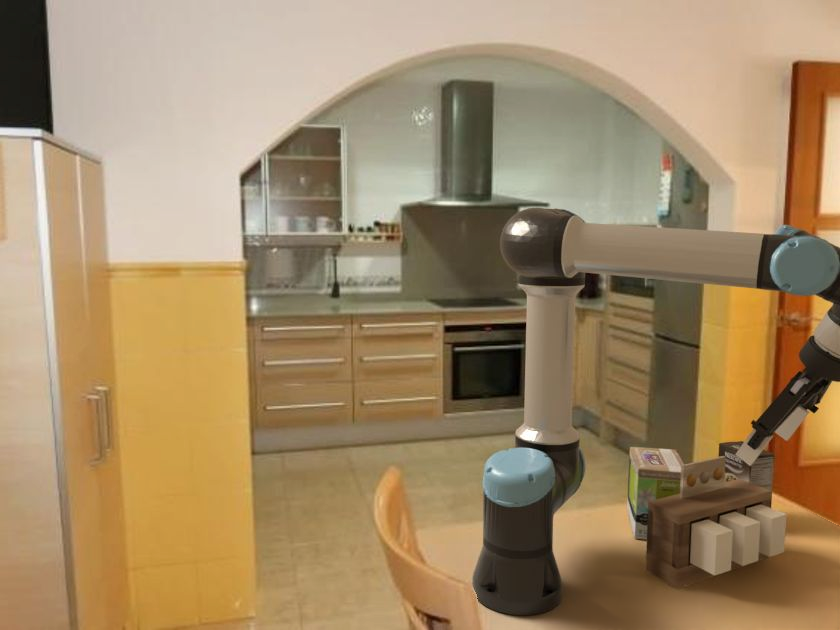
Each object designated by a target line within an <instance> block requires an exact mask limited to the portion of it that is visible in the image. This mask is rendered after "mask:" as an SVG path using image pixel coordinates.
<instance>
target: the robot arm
mask: <svg viewBox="0 0 840 630" xmlns="http://www.w3.org/2000/svg"><path fill="white" fill-rule="evenodd" d="M499 240H500V241H499V245H500V247H499V249H500V253H501V255H502V258H503V260H504V261H505V263H506V265H507V266H508V267H509V268H510V269H511V270H513V272H515V273H516V274H518V286H519V287H520V289H522V290H523V291H524V293H525V294H526V316H525V317H526V322H525V323H526V327H525V366H524V367H525V368H524V369H525V370H524V373H525V375H524V404H523V405H524V407H523V408H524V411H523V412H524V415H523V423H522V424H521V425H520V426H519V427H518V428H517V429H516V430H515V433H514V434H515V441H514V447H510V448H508V450H505V449H501V450H499V451H498V452H495V453H493V454H492V455H491V456H489V458H488V459H487V460H486V462H485V463H484V467H483V470H484V471H483V475H482V502H483V503H482V508H483V509H482V519H483V522H482V524H483V526H482V530H483V531H482V547H481V550H480V552H479V556H478V560H477V562H476V565H475V568H474V570H473V573H472V586H473V588H474V590H475V592H476V594H477V597H478V600H479V601H478V600H477V601H478V602H479V603H480V604H482V605H484V606H485V607H487V608H489V609H491V610H493V611H496V612H499V613H502V614H507V615H514V616H531V615H533V616H534V615H538V614H543V613H546V612H549V611H551V610H553V609H554V608H556V607H557V606H558V605H559V604H560V603H561V601H562V599H563V579H562V577H561V573H560V570H559V566H558V563H557V561H556V557H555V554H554V547H553V545H554V543H553V541H554V539H553V538H554V536H553V535H554V515H555V514H556V512H557V511H559V510H560V509H561V508H562V506H563V505H564V504H565V503H566V502H567V501H568V500H569V499H570V498H571V497H572V496H574V494H576V493H577V491H578V490H579V488H580V487H581V484H582V483H583V480H584V477H585V474H586V460H585V456H584V453H583V451H582V449H581V448H580V433H579V432H578V431H577V430H576V428H574V427H573V422H572V421H573V417H572V416H573V391H574V390H573V389H574V387H573V385H574V359H575V358H574V357H575V329H576V328H575V327H576V326H575V325H576V323H575V322H576V297H577V294H578V293H580V291H581V290H583V289H584V288H585V285H586V282H585V281H586V274H588V273H589V274H597V275H598V274H599V275H606V276H607V275H608V276H617V277H619V276H620V277H629V278H641V279H650V280H651V279H652V280H661V281H662V280H663V281H671V282H682V283H683V282H684V283H692V284H704V285H712V286H713V285H714V286H723V287H724V286H725V287H736V288H744V289H745V288H747V289H756V290H761V291H772V292H773V291H775V292H781V293H782V292H783V293H784V292H785V293H787V294H789V295H792V296H798V297H800V296H802V297H803V296H804V297H809V296H814V295H815V296H817V297H818V298H821V299H822V300H824V301H827V302H829V303H832V305H831V307H829V309H828V310H827V311H826V313H825V314H824V316H823V317H822V319H820V321H819V322H818V323H817V325H816V327H815V328H814V330H813V331H812V333H813V335H810V336H809V337H808V339H807V340H806V341H805V343H804V344H803V346H802V347H801V349H800V350H799V352H798V357H799V360H800V362H801V363H802V364H803V365H804V367H805V368H804V369H803V370H802V371H801V370H799V371H798V372H797V373H796V374H795V375H794V376H793V377H791V378H790V379H789V382H788V383H787V385H786V386H785V387H784V389H783V390H782V391H781V392H780V393H779V394H778V396H776V397H775V399H773V401H772V402H771V403H770V405H769V406H768V407H767V408H766V409H765V410H764V411H763V413H762V414H761V415H760V416H759V417H758V418H757V420H756V421H755V420H754V419H752V421H751V422H750V425H751V428H752V431H751V432H750V433H749V435H748V436H747V438H746V439H745V441H743V442H744V443H743V444H742V446H741V447H740V449H739V450H738V451H737V453H736V454H735V455H737V456H738V457H739V458H741V459H742V460H743V461H744V462H746V463H747V464H748V465H749V466H751V465H752V464H753V463H754V461H755V460H756V459H757V457H758V456H759V455H760V453H761V452H762V451H763V450H765V448H766V446H767V445H768V444H769V443H770V441H771V440H772V439H773V437H774V434H776V435H778V436H779V437H781V438H782V439H783V440H784V441H786V442H787V441H789V440H790V439H791V437H792V436H793V435H794V433H795V432H796V431H797V430H798V428H799V427H800V425H801V424H802V423H803V422H804V420H805V419H806V418H807V416H808V415H809V413H810V412H811V413H812V414H815V413H817V411H818V410H819V407H818V406H816V405H819V404H820V403H821V401H822V399H823V397H824V396H825V394H826V392H827V390H828V389H829V387H830V386H831V384H832V383H833V382H835V383H836V382H837V383H840V246H837V245H835V244H834V243H832V242H829V241H828V240H826V239H824V238H821V237H820V236H817V235H813V234H812V233H809V232H808V231H806V230H803V229H801V228H797V227H794V226H792V225H789V224H781V225H780V226H779V227H778V228H777V229H776V230H775V232H774V233H773V234H772V233H771V234H768V233H757V232H742V231H739V232H738V231H727V230H726V231H723V230H709V229H707V230H705V229H694V228H693V229H692V228H691V229H690V228H676V227H675V228H674V227H660V226H643V225H640V226H639V225H626V224H613V223H612V224H609V223H597V222H596V223H594V222H593V223H592V222H586V221H585V220H584V219H583V218H582V217H581V216H579V215H577V214H576V213H575V212H574V213H573V212H572V211H570V210H566V209H562V208H543V207H528V208H525V209H522V210H521V211H518V212H516V213H515V214H513V216H511V217H510V218H509V219H508V220H507V222H506V223H505V225H504V226H503V228H502V232H501V235H500V239H499ZM472 586H471V587H472Z"/></svg>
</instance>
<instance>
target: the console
mask: <svg viewBox="0 0 840 630" xmlns="http://www.w3.org/2000/svg"><path fill="white" fill-rule="evenodd" d="M725 461H726V457H725V456H720V457H718V456H715V457H713V458H707V459H703V460H698V461H693V462H690V463H684V465H681V480H680V494H677V495H673V496H669V497H665V498H661V499H657V500H653V501H649V502H648V523H647V540H646V553H645V572H647V573H648V574H650V575H652V576H654V577H655V578H658V579H659V580H661V581H662V582H665V583H666V584H668V585H669V586H671V587H673V588H674V589H680V588H683V587H686V586H689V585H691V584H695V583H698V582H700V581H703V580H706V579H710V578H712V577H715V576H718V575H720V574H718V575H715V576H714V575H712V574H710V573H709V572H707V571H705V570H703V569H701V568H699V567H697V566H695V565H693V564H692V563H690V551H691V529H692V524H693V523H697V522H700V521H704V520H707V519H708V520H711V521H713V522H715V523H717V524H719V521H720V516H721V515H725V514H728V513H732V512H737V513H740V514H742V515H744V516H746V508H750V507H753V506H757V505H760V504H761V505H764V506H767V507H769V508H772V499H773V490H772V491H771V490H768V489H765V488H763V487H760V486H757V485H755V484H752V483H749V482H746V481H744V480H741V479H736V480H732V481H728V482H724V480H725ZM768 558H769V556H766V555H764V554H762V553H760V552H759V556H758V561H756V562H753V563H757V562H760V561H763V560H765V559H768ZM753 563H750V564H747V565H744V566H748V565H751V564H753ZM744 566H742V565H740V564H738V563H736V562H734V561H732V560H731V570H730V571H733V570H735V569H739V568H742V567H744Z"/></svg>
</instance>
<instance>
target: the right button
mask: <svg viewBox="0 0 840 630" xmlns="http://www.w3.org/2000/svg"><path fill="white" fill-rule="evenodd" d="M746 516H747V517H749V518H752V519H754V520H757V521H759V522H760V539H759V552H760V553H762V554H764V555H766V556H768V558H769V557H770V558H771V557H774V556H776V555H779V554H782V553H784V552H785V542H786V529H787V527H786V526H787V513H784V512H782V511H780V510H776V509H774V508H772V507H771V508H769V507H767V506H764V505H761V504H760V505H757V506H753V507H750V508H746Z"/></svg>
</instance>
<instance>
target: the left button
mask: <svg viewBox="0 0 840 630" xmlns="http://www.w3.org/2000/svg"><path fill="white" fill-rule="evenodd" d="M732 539H733V530H731V529H729V528H726V527H724V526H722V525H720V524H717V523H715V522H713V521H711V520H708V519H707V520H704V521H700V522H697V523H693V524H692V529H691V551H690V563H692V564H693V565H695V566H697V567H699V568H701V569H703V570H705V571H707V572H709V573H710V574H712V575H714V576H713V577H715V575H716V576H718V574H719V575H721V574H725V573H728V572H729V571H732V570H731V557H732Z"/></svg>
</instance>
